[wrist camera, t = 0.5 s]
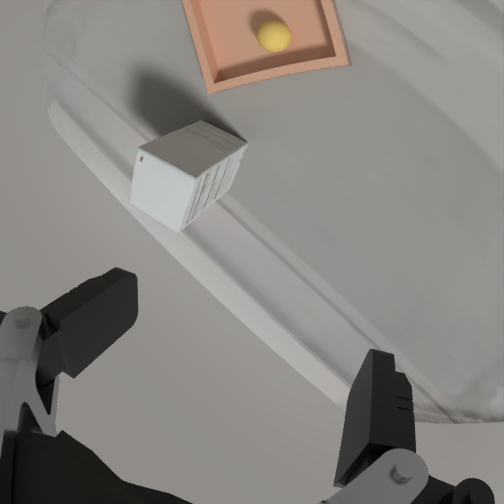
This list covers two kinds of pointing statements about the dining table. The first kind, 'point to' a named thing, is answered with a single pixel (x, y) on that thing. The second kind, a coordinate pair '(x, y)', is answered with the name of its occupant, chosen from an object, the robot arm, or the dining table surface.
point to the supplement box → (185, 173)
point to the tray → (247, 47)
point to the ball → (274, 36)
